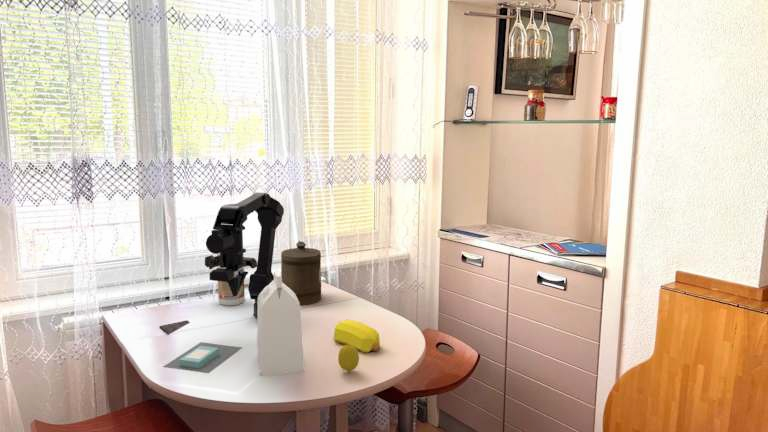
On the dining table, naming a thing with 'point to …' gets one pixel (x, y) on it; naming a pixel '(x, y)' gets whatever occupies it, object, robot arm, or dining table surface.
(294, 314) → the milk
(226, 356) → the mat
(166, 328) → the chocolate bar
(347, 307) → the dining table surface
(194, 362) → the card box
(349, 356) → the lemon
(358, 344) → the yellow kitchen sponge
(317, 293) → the wooden container
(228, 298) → the fruit juice
